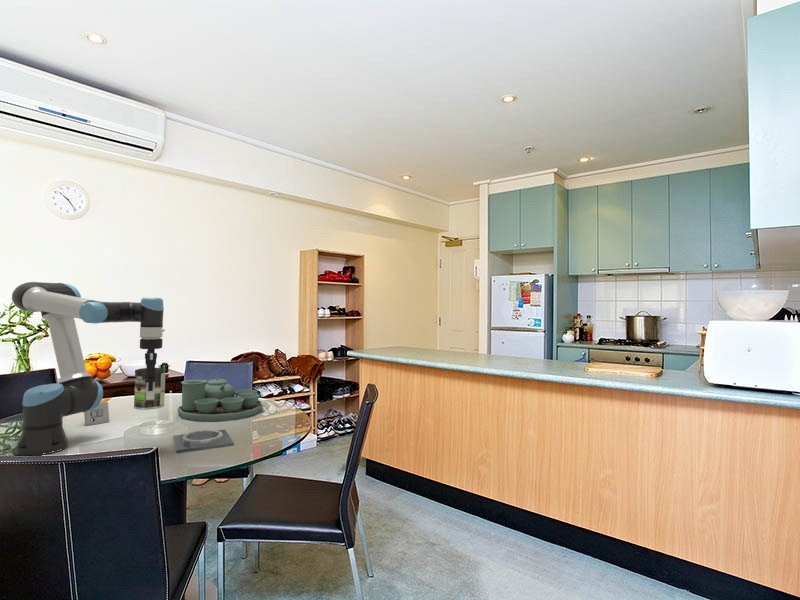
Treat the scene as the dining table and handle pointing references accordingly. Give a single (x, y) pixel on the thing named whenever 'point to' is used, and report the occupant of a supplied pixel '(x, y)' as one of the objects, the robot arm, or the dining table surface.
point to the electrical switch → (97, 414)
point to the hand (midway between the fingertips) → (149, 396)
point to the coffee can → (140, 389)
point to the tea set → (216, 401)
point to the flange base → (202, 440)
